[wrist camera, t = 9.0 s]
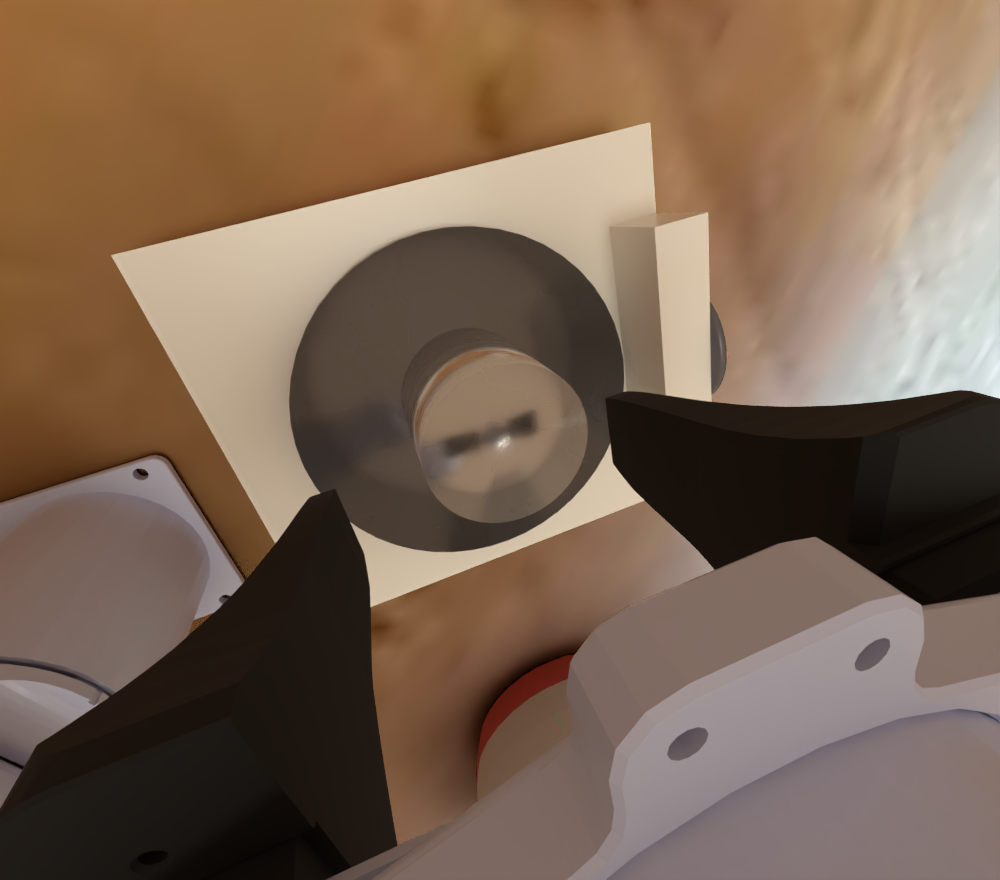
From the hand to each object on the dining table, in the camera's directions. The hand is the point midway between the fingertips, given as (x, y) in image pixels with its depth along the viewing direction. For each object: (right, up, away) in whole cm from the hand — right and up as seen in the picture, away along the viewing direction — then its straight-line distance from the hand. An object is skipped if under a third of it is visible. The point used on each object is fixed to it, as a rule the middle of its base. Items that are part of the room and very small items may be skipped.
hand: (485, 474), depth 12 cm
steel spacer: (-1, +3, +6) cm, 6 cm away
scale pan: (-1, +2, +7) cm, 7 cm away
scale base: (-2, +4, +10) cm, 10 cm away
